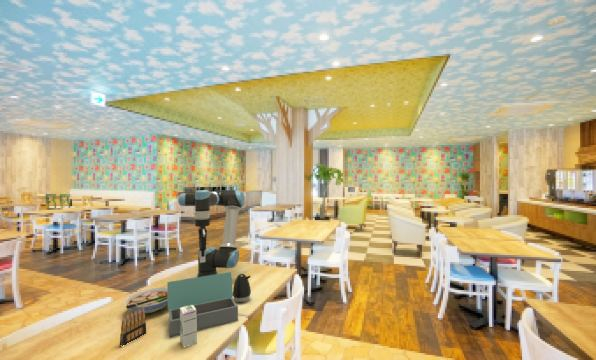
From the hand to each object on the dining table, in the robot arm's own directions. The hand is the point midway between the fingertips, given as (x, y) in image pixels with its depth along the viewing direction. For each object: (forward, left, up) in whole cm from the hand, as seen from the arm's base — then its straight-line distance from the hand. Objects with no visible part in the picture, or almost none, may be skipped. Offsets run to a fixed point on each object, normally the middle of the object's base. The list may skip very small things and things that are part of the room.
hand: (202, 262), depth 145 cm
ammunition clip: (+17, -31, -25) cm, 43 cm away
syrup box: (+30, -10, -25) cm, 40 cm away
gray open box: (+17, -2, -25) cm, 30 cm away
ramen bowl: (-10, -25, -25) cm, 37 cm away
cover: (+9, -2, -12) cm, 15 cm away
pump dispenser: (+2, +21, -25) cm, 33 cm away
